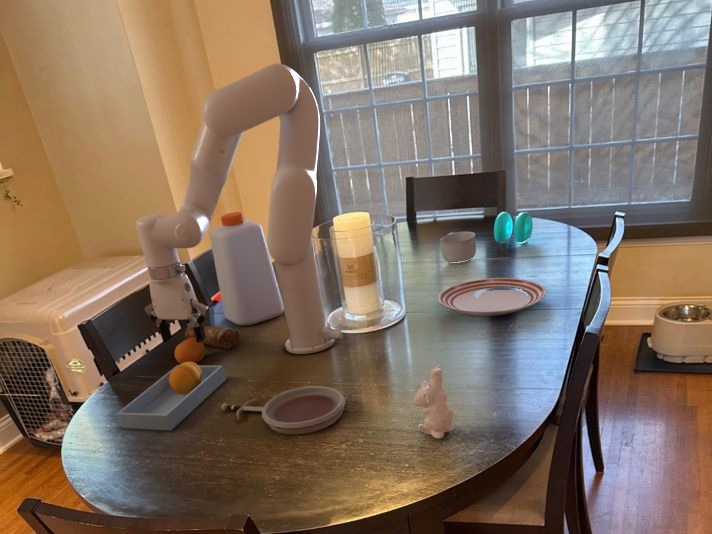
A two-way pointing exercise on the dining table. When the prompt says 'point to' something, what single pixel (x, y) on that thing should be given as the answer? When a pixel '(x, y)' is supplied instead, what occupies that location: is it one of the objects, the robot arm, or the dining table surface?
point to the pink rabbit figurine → (434, 406)
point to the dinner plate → (491, 296)
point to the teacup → (458, 247)
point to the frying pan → (299, 409)
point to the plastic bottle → (244, 271)
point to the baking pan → (168, 402)
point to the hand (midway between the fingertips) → (184, 340)
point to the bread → (217, 336)
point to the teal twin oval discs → (505, 227)
